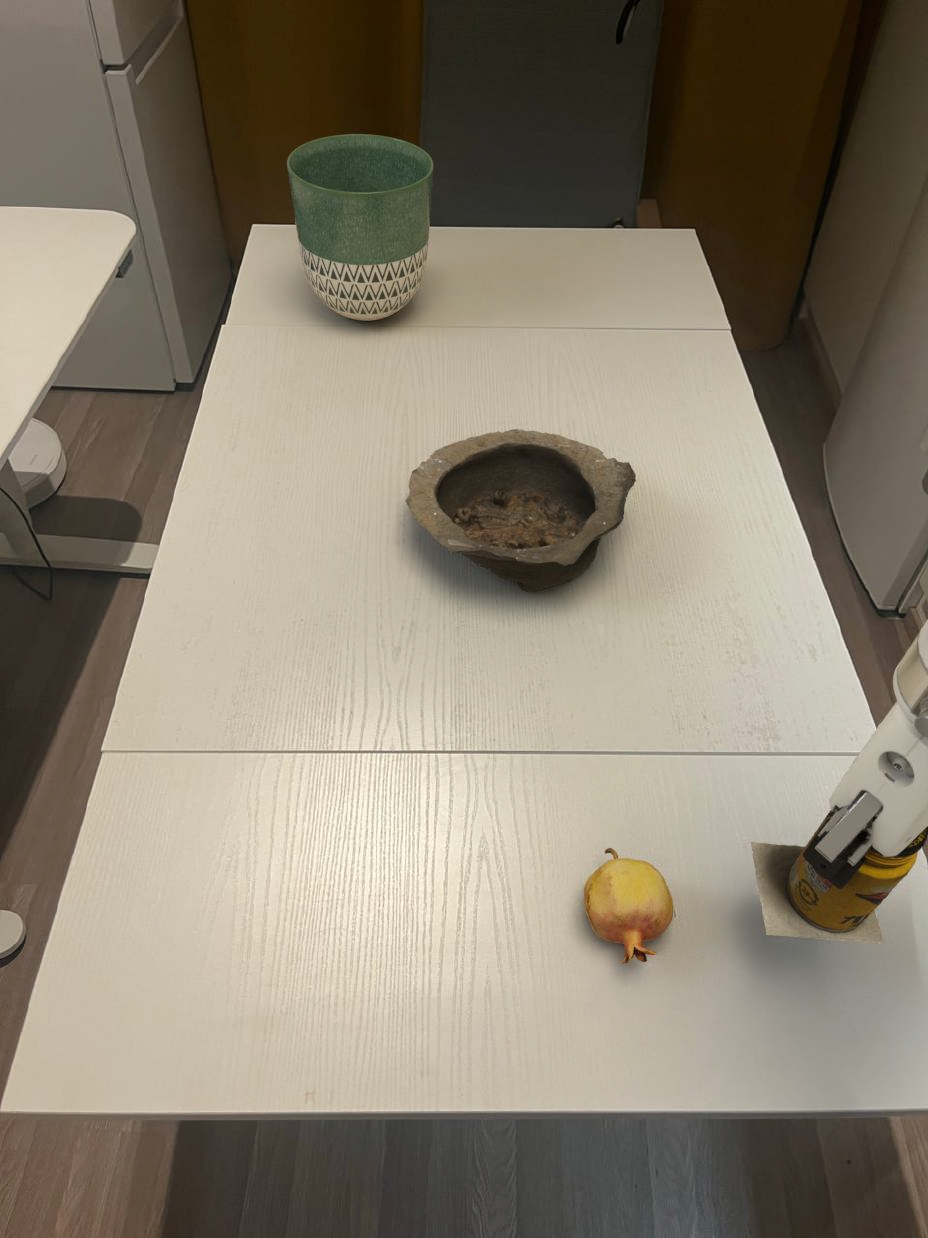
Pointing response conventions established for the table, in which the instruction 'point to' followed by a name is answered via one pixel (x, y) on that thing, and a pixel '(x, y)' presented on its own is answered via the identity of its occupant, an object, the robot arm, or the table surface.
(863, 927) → the condiment
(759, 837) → the table surface
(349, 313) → the planter
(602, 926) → the fruit
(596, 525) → the stone bowl
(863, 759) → the robot arm
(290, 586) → the table surface
